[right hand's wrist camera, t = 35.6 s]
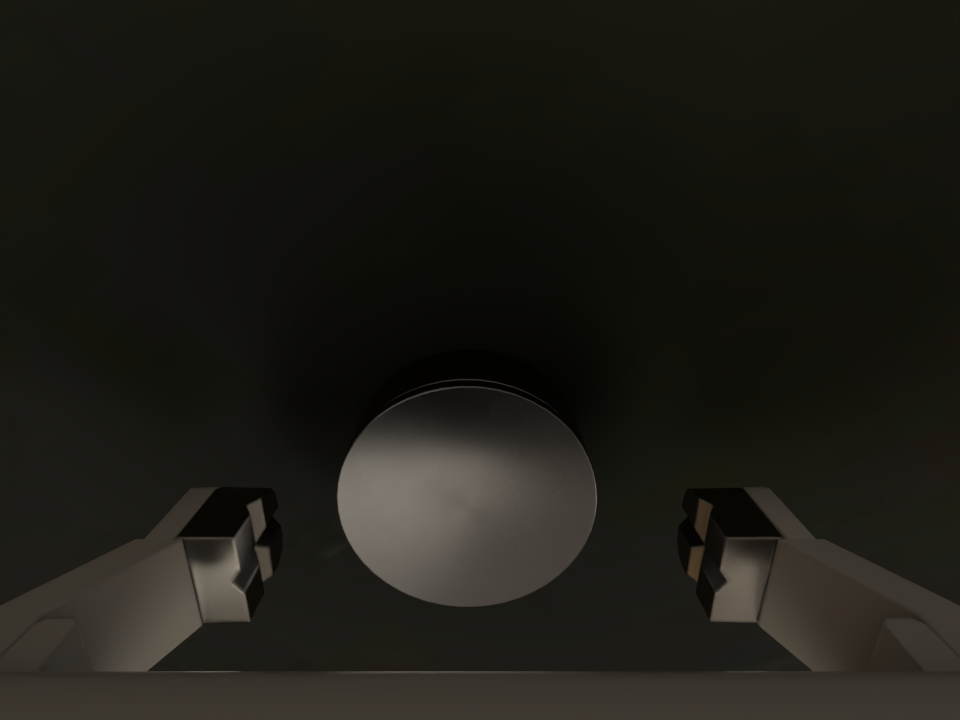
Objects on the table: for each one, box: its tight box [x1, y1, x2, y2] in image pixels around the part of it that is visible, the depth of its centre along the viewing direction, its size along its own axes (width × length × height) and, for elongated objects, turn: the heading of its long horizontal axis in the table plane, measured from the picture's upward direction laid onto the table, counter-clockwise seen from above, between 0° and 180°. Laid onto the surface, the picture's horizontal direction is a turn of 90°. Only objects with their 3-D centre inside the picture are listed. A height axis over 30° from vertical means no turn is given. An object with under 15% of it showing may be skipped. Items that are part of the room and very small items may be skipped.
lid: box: [336, 351, 598, 607], centre depth 12 cm, size 5×5×2 cm
